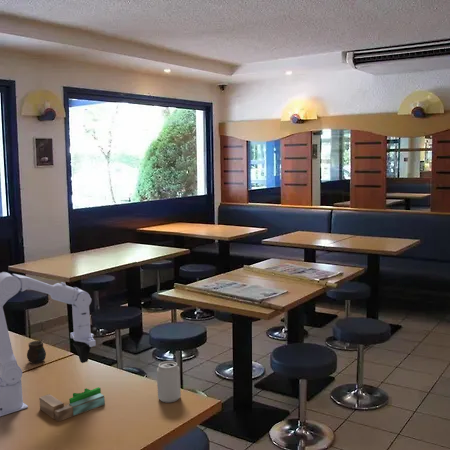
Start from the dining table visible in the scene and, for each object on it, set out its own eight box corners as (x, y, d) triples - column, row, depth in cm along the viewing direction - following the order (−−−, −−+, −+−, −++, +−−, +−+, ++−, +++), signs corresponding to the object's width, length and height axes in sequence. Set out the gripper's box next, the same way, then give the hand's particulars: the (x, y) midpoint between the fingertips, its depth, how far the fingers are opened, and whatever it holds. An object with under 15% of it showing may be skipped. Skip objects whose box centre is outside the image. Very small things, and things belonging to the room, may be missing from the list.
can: (185, 398, 181) (184, 363, 180) (168, 405, 175) (166, 369, 174) (170, 392, 186) (169, 358, 185) (153, 399, 181) (151, 364, 179)
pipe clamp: (94, 398, 184) (93, 385, 183) (101, 401, 181) (100, 388, 181) (65, 409, 175) (64, 396, 175) (72, 413, 173) (71, 399, 172)
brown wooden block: (53, 419, 169) (53, 406, 168) (40, 409, 176) (39, 397, 176) (65, 414, 171) (64, 402, 171) (51, 405, 179) (50, 393, 178)
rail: (58, 421, 167) (57, 411, 166) (54, 418, 169) (53, 409, 168) (104, 405, 178) (104, 395, 177) (100, 402, 180) (100, 393, 179)
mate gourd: (36, 357, 224) (34, 334, 223) (50, 360, 221) (49, 336, 220) (23, 363, 218) (21, 339, 216) (38, 366, 215) (36, 341, 213)
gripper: (102, 325, 187) (104, 363, 188) (82, 317, 197) (84, 354, 199) (83, 330, 182) (86, 369, 184) (63, 322, 193) (66, 359, 194)
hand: (84, 361), depth 191 cm, fingers closed
